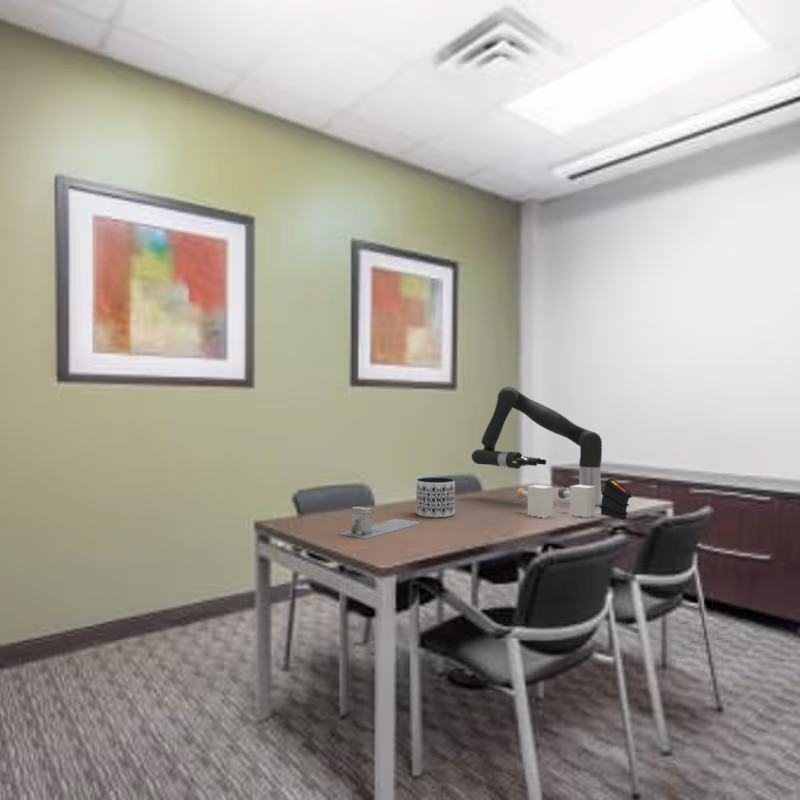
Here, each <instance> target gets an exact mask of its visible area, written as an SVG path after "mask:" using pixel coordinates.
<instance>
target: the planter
mask: <svg viewBox="0 0 800 800" xmlns="http://www.w3.org/2000/svg"><path fill="white" fill-rule="evenodd" d="M455 483H456V480H455V479H453V478H451V477H450V478H448V477H441V476H439V477H431V476H430V477H420V478H417V479H416V507H415V508H416V510H415V511H416V512H415V513H416V514H417V515H418V516H420V517H425V518H430V517H434V518H435V519H439V517H444V518H449V516H450V517H453V516H454V515H455V514H456V513H455V512H456V508H455V507H456V503H455V502H456V484H455ZM452 515H453V516H452ZM434 518H433V519H434Z"/></svg>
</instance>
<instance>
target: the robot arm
mask: <svg viewBox="0 0 800 800" xmlns="http://www.w3.org/2000/svg"><path fill="white" fill-rule="evenodd" d="M513 409H515V410H517V411H519V412H521V413H522V414H524V415H526V417H528V418H529V419H530V420H532V421H533V422H534V423H535V424H536V425H538V426H540V427H541V428H543V429H545V430H547V431H549V432H552V433H553V434H556V435H559V436H562V437H563V438H564V437H565V438H566V439H568V440H570V441H571V442H573V443H574V444H576V445H577V446H579V447H580V450H579V451H580V456H579V457H580V458H579V467H578V468H579V469H578V470H579V473H578V474H579V481H578V482H579V484H578V485H587V486H595V507H596V505H597V506H600V505H601V502H602V494H601V493H602V483H601V479H602V478H601V475H602V474H601V471H602V470H601V465H602V464H601V463H602V457H603V456H602V453H603V451H602V450H603V449H602V448H603V445H602V444H603V442H602V437H601V436H600V435H599V434H598V433H597V432H595V431H592V430H589V429H586V428H584V427H581V426H579V425H577V424H575V423H573V422H572V421H571V420H569V419H568V418H567V417H566V416H564V415H562V414H561V413H559V412H557V411H556V410H554V409H552V408H550V407H547V406H546V405H544V404H541V403H540V402H537V401H535V400H533V399H531V398H529V397H527V396H526V395H524V394H523V393H521V392H520V391H518V390H517V389H516V388H514V387H512V386H505V387H502V388H501V389H500V390H499V392H498V395H497V400H496V404H495V409H494V412H493V414H492V417H491V419H490V421H489V423H488V424H487V427H486V429H485V431H484V433H483V435H482V438H481V442H480V443H481V444H482V445H483V446H484V447H483V449H480V448H479V449H476V450H473V452H472V453H471V459H472V462H473V463H475V464H476V465H487V466H488V465H489V466H490V465H491V466H494V467H495V466H496V467H503V468H507V469H516V470H517V469H520V468H522V467H526V466H527V467H528V466H534V467H535V466H536V467H537V465H545V466H546V465H547V459H542V458H540V457H533V456H528V455H527V456H526V455H524V456H523V455H522V453H521V452H518V451H506V450H504V451H500V450H496V445H497V443H498V441H499V438H500V435H501V433H502V430H503V427H504V424H505V421H506V420H507V418H508V415H509V414H510V412H511V411H512V410H513Z"/></svg>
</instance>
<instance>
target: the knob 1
mask: <svg viewBox="0 0 800 800" xmlns="http://www.w3.org/2000/svg"><path fill="white" fill-rule="evenodd" d="M516 497H517V498H518V499H519V500H524V499H526V498H528V490H526V489H525V488H522V487H521V488H518V489H517V490H516Z"/></svg>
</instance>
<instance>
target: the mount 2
mask: <svg viewBox="0 0 800 800" xmlns="http://www.w3.org/2000/svg"><path fill="white" fill-rule="evenodd" d="M569 491H570V497H569V516H572V515H575V516H574V517H578V516H582V517H581V518H584V517H588V518H591V517H590V516H592V517H595V516H596V506H595V486H587V485H579V484H574V485H570V486H569ZM594 515H595V516H594Z"/></svg>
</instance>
